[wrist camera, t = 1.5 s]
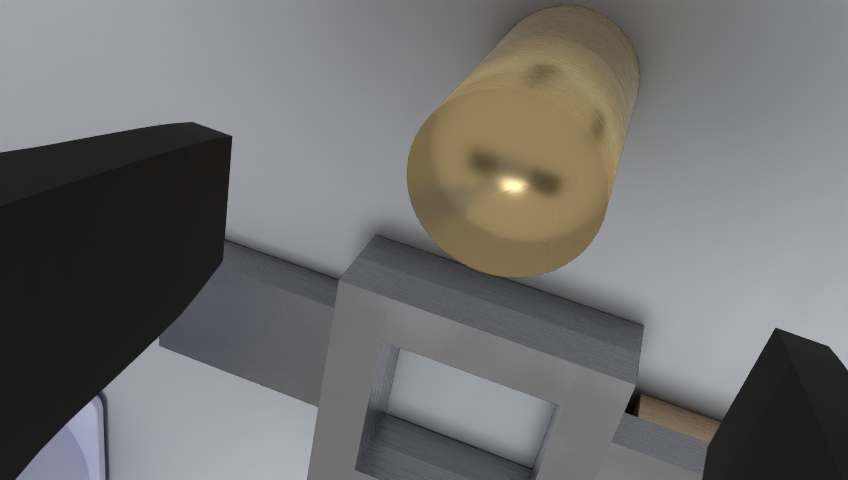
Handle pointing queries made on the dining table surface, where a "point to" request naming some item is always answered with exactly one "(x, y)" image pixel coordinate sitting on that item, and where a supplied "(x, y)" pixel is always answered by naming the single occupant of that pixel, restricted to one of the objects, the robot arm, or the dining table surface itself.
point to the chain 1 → (311, 326)
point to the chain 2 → (499, 362)
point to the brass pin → (528, 145)
